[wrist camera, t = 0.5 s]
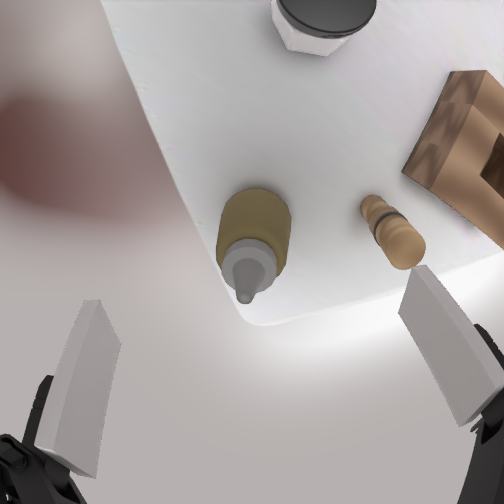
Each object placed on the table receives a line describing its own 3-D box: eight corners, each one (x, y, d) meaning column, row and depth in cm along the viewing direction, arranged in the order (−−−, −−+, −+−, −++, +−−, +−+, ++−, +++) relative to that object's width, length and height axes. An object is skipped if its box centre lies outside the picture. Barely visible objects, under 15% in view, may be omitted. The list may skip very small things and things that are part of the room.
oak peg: (367, 186, 35) (403, 223, 25) (393, 201, 36) (433, 242, 25) (351, 214, 37) (379, 260, 27) (377, 227, 38) (410, 276, 27)
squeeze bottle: (281, 246, 40) (283, 345, 24) (220, 232, 40) (186, 325, 24) (297, 188, 36) (315, 263, 20) (232, 173, 36) (197, 236, 20)
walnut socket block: (450, 71, 27) (486, 70, 20) (519, 140, 29) (553, 152, 22) (401, 171, 34) (429, 190, 27) (475, 225, 36) (504, 250, 29)
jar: (316, 71, 29) (337, 56, 19) (258, 31, 27) (251, -2, 17) (361, 22, 26) (398, -7, 15) (305, -18, 24) (317, -63, 13)
